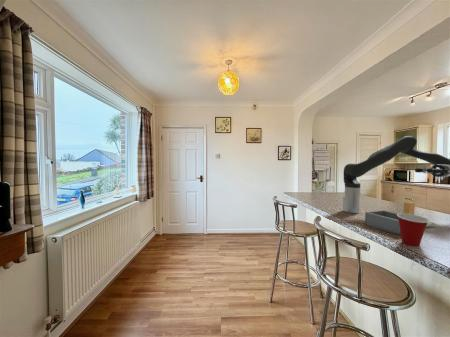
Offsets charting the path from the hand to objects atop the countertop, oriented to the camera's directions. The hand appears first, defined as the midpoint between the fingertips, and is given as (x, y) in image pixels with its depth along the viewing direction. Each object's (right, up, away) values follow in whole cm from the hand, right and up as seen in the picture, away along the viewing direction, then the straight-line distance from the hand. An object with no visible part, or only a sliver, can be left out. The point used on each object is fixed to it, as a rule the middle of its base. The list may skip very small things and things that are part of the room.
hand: (424, 170), depth 127 cm
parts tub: (-29, -30, -12) cm, 43 cm away
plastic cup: (-36, -31, -33) cm, 58 cm away
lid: (-11, -30, -2) cm, 32 cm away
